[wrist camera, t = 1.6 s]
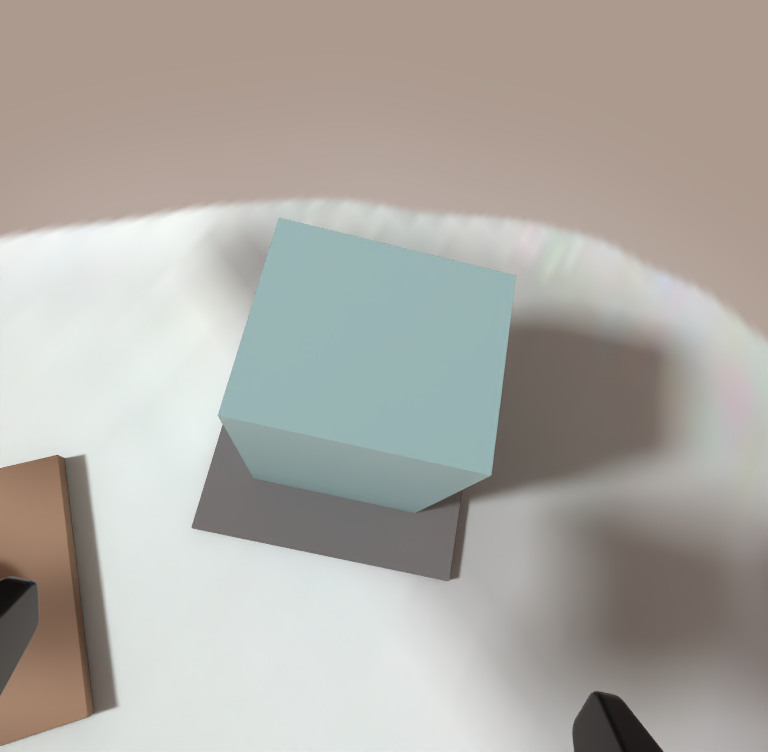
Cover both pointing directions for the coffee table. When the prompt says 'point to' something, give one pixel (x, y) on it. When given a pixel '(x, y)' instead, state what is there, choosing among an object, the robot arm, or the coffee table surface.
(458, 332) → the pale teal block
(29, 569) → the coaster
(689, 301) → the coffee table surface
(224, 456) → the mat
